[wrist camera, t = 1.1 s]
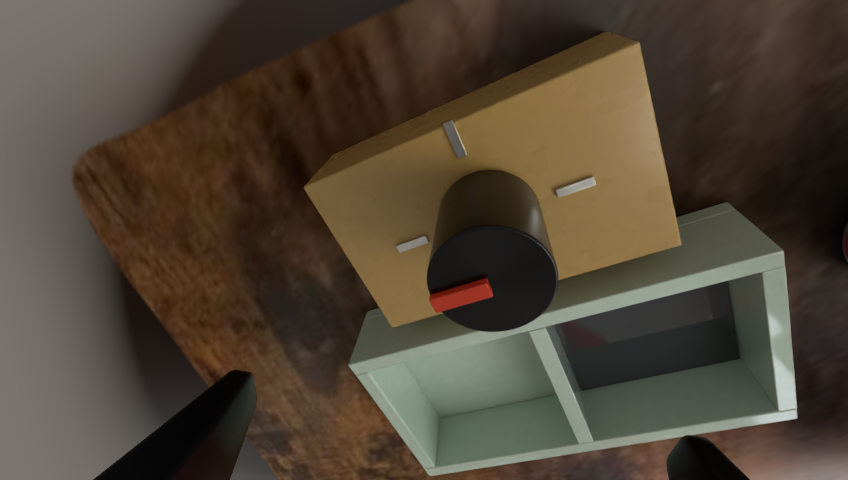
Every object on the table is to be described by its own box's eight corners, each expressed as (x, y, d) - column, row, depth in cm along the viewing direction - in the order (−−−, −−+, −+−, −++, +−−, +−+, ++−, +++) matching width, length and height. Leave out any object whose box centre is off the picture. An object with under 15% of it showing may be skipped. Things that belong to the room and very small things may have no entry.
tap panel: (606, 27, 16) (641, 37, 13) (648, 203, 20) (684, 250, 16) (330, 153, 20) (299, 187, 17) (405, 281, 24) (392, 332, 20)
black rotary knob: (521, 152, 15) (535, 212, 11) (553, 241, 17) (576, 321, 13) (422, 191, 17) (402, 257, 12) (461, 270, 18) (456, 351, 14)
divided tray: (749, 352, 24) (798, 419, 20) (435, 416, 30) (429, 476, 26) (727, 201, 19) (785, 250, 16) (366, 311, 25) (347, 365, 22)
